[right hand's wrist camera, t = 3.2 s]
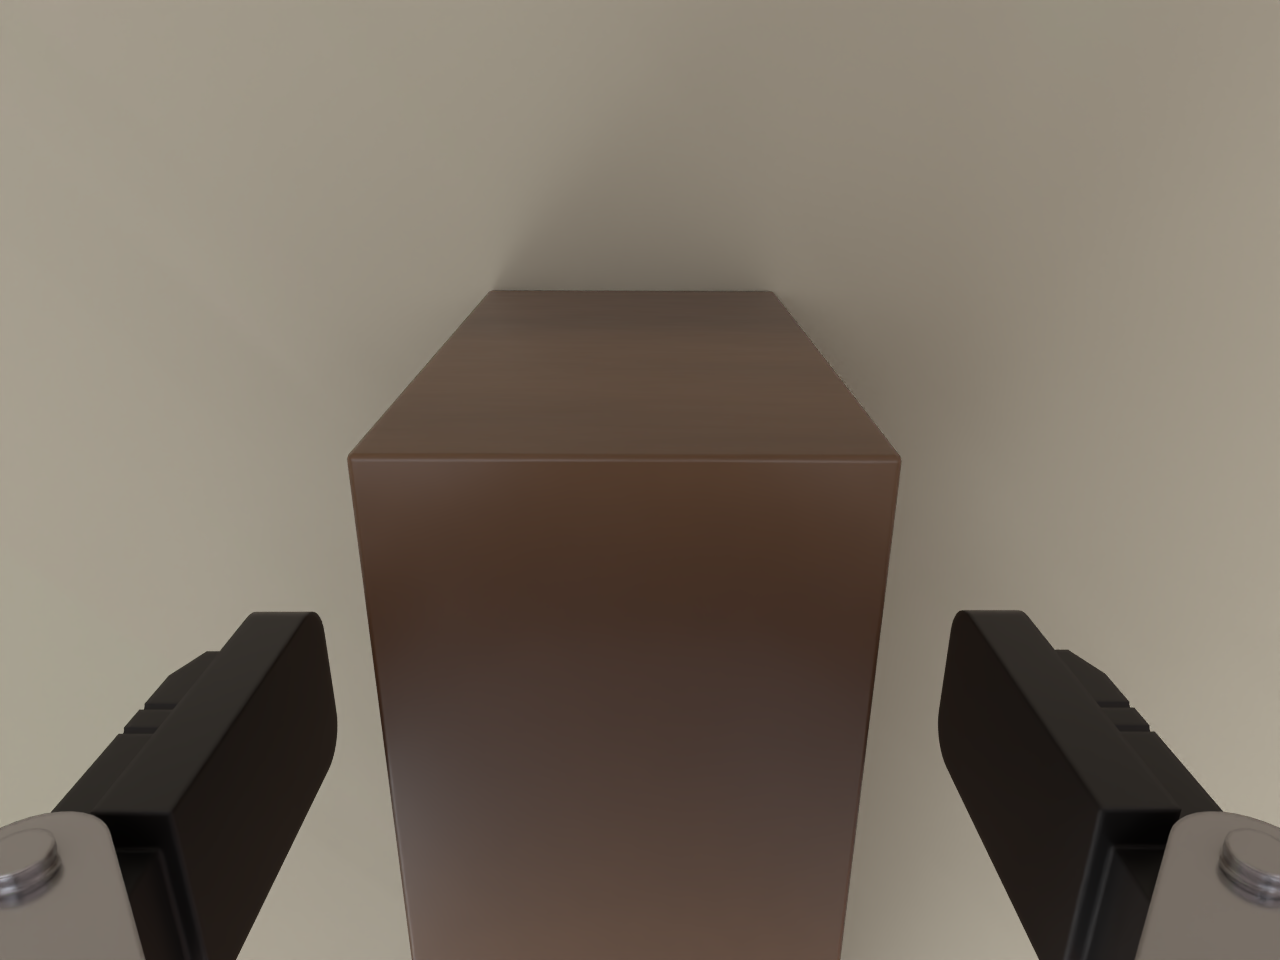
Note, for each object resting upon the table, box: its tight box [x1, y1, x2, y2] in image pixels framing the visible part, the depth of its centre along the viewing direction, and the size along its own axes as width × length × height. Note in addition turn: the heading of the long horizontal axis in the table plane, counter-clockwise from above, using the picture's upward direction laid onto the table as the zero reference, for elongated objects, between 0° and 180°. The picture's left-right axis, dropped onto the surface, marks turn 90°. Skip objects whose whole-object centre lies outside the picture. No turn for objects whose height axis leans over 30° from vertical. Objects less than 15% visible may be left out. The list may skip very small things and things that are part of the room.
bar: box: [347, 291, 902, 960], centre depth 16 cm, size 22×5×8 cm, turn 0°
